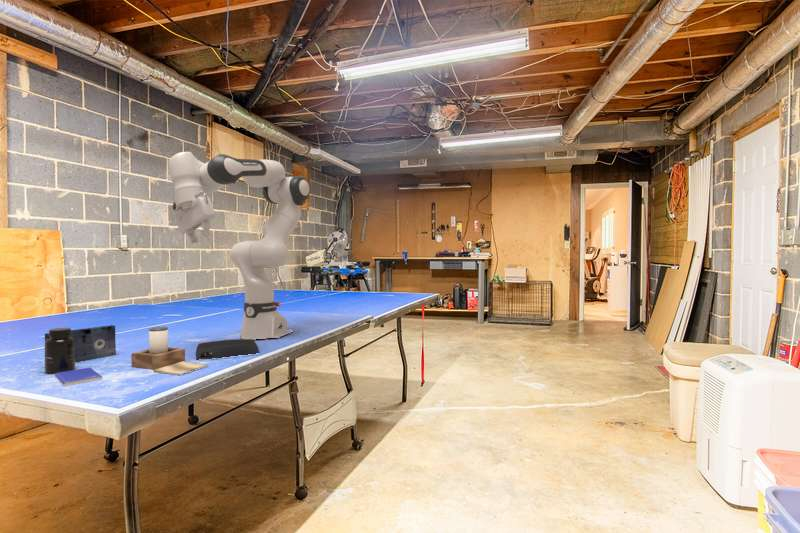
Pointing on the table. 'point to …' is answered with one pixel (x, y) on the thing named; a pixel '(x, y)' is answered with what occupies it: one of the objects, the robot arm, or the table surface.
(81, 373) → the blue book
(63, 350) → the supplement bottle
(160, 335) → the beige cylinder
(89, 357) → the vhs cassette tape
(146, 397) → the table surface
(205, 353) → the external hard drive
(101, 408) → the table surface
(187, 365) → the pad
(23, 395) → the table surface
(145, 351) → the block
